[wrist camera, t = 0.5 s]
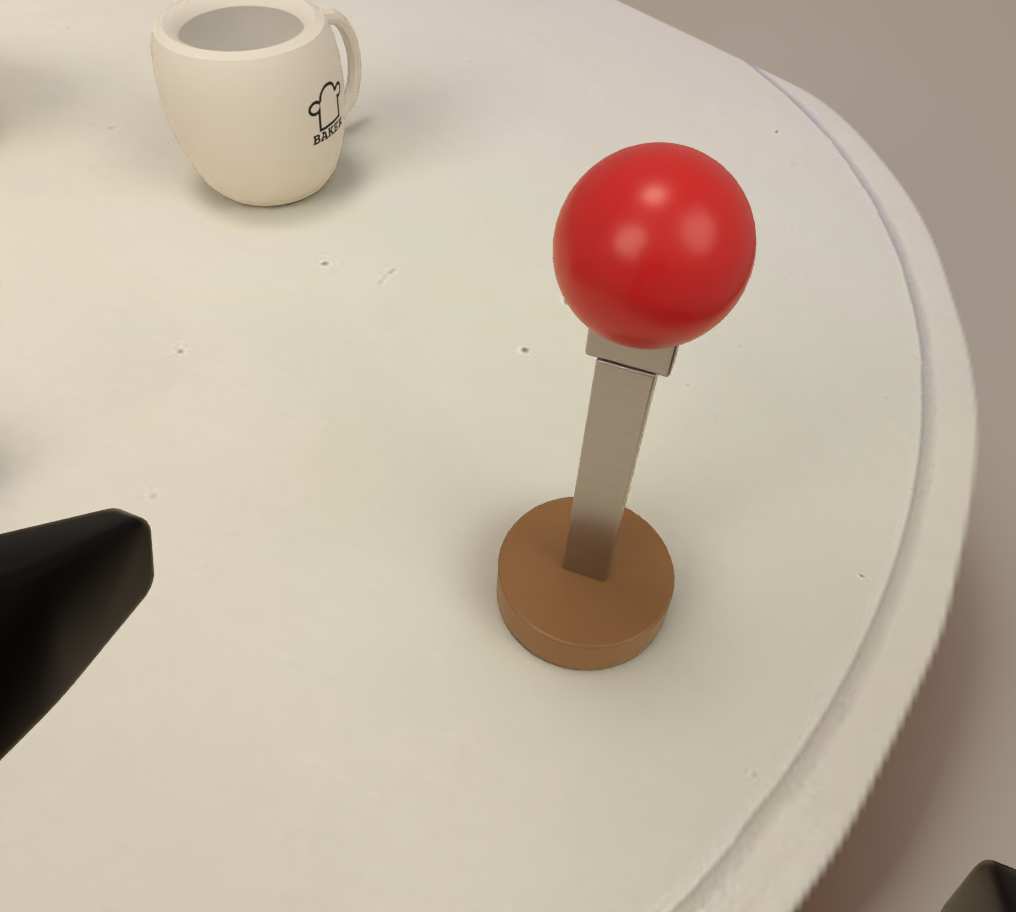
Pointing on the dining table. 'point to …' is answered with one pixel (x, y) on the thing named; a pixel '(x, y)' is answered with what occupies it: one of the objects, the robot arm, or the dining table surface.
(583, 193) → the red knob post
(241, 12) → the mug
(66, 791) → the dining table surface
